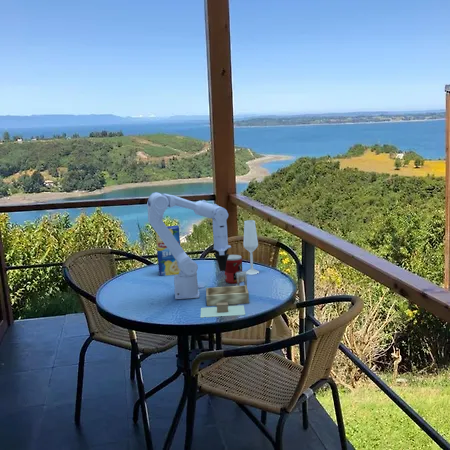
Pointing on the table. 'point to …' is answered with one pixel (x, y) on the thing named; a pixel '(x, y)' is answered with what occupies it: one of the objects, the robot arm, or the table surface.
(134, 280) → the table surface
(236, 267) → the canned food
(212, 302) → the wooden tray
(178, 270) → the beverage box
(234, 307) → the lid
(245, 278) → the bolt keeper
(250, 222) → the champagne flute
